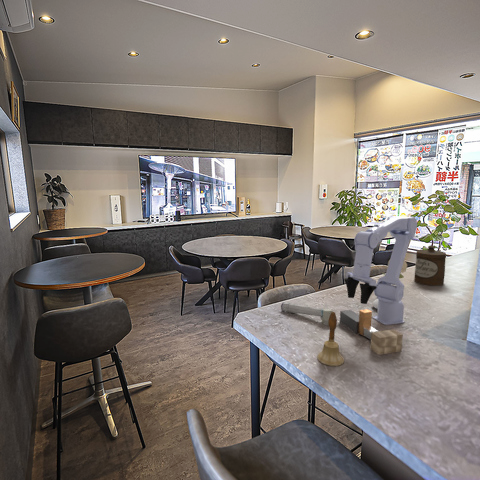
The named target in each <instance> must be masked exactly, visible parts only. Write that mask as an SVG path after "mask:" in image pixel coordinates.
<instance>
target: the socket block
mask: <svg viewBox="0 0 480 480" xmlns="http://www.w3.org/2000/svg"><path fill="white" fill-rule="evenodd" d="M403 335H404V334H402V333H401V332H399V331H398V330H396V329H394V328H393V329H387V330H386V329H385V330H380V331H379V330H378V332H372V333H371V340H370V350H371V351H372V352H374V353H375V354H377V355H378V356H379V355H388V354H391V353H392V354H393V353H399V352H402V350H403V347H402V346H403Z"/></svg>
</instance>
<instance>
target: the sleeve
mask: <svg viewBox="0 0 480 480" xmlns="http://www.w3.org/2000/svg"><path fill="white" fill-rule="evenodd" d="M339 323H341V324H342V325H343V326H345V327H346V328H347V329H348V330H350V331H352V332H353V333H355V335H356V334H358V335H359V333H358V323H359V314H358V313H356V312H355V311H354V310H352V309H344V310H340V313H339Z"/></svg>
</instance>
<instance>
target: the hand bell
mask: <svg viewBox="0 0 480 480" xmlns="http://www.w3.org/2000/svg"><path fill="white" fill-rule="evenodd" d="M337 324H338V319H337V315H336V312H335V311H333V312H331V314H330V317H329V321H328V325H327V326H328V329H329V330H328V331H329V334H328V340H325V341H324V343H323V346H322V350H321V351H320V352H319V353H318V354H317V357H316V358H317V360H318V361H319V362H320V363H322V364H323V365H326V366H330V367H339V366H341V365H343V364H344V362H345V360H344V356H342V355H341V353H340V347H339V343H338V342H337V341H335V332H336V328H337Z"/></svg>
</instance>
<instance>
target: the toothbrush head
mask: <svg viewBox="0 0 480 480" xmlns="http://www.w3.org/2000/svg"><path fill="white" fill-rule="evenodd" d="M280 310H281V311H282V312H286V313H293V314H300V315H306V316H307V315H309V316H315V317H320V320H321V323H322V324H324V325H325V326H329V325H328V321H329V317H330V314H331V312H334V311H333V309H331V308H319V307H313V306H309V305H303V304H302V305H301V304H296V303H292V302H282V303H281V305H280Z"/></svg>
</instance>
